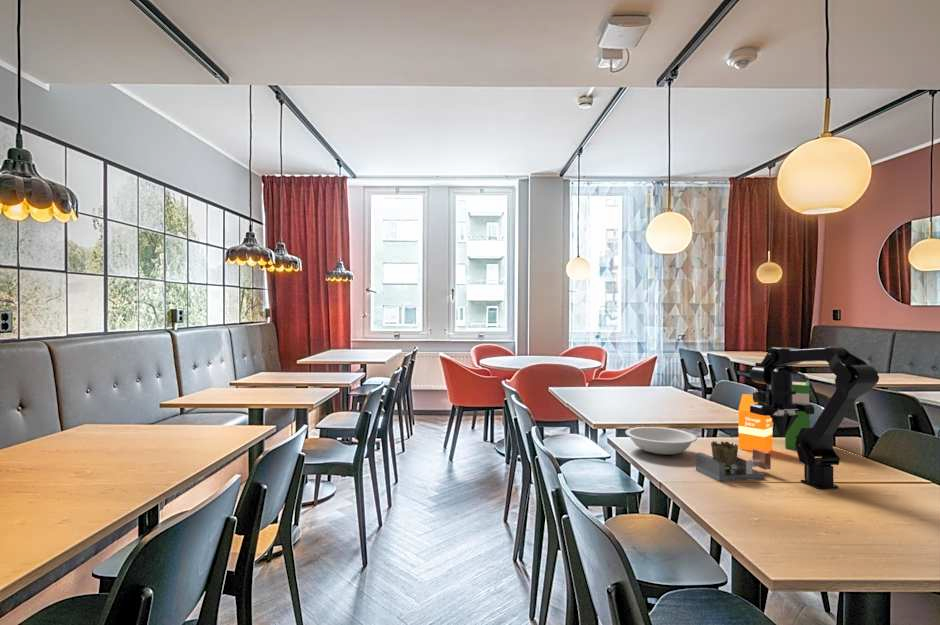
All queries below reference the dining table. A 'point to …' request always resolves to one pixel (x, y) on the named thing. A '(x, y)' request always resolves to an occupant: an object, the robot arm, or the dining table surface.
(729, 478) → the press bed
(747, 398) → the orange juice
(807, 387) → the hardback book
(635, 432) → the soup bowl
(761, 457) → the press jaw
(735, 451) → the ornate bronze lampshade
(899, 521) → the dining table surface
